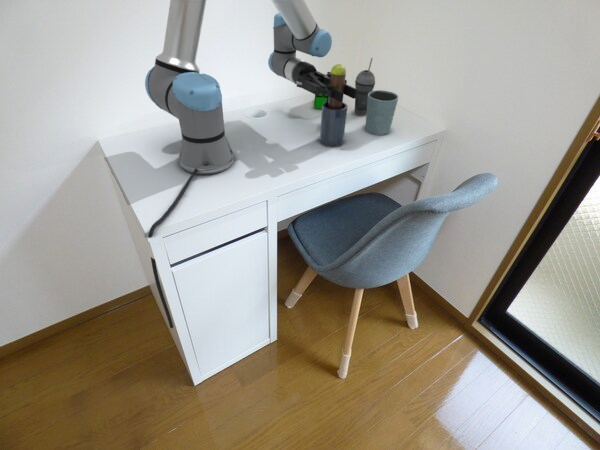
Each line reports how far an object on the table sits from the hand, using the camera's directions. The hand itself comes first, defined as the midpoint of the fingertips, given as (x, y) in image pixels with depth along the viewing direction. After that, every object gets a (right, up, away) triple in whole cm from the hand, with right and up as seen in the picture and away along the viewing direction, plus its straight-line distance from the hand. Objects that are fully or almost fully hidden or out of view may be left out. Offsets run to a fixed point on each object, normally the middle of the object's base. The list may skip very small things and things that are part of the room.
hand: (348, 95), depth 105 cm
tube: (-4, -10, +14) cm, 18 cm away
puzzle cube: (-3, +10, +38) cm, 39 cm away
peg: (-3, -4, +9) cm, 10 cm away
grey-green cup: (+13, -4, +22) cm, 26 cm away
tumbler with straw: (+9, +5, +33) cm, 34 cm away
